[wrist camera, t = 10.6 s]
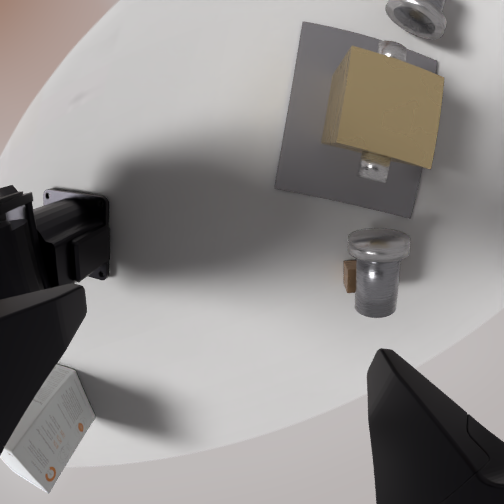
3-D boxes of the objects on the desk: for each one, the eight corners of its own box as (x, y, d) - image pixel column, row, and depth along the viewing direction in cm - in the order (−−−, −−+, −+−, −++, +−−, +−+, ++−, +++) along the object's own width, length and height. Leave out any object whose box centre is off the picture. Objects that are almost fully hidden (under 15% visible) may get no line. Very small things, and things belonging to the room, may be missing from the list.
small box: (37, 355, 28) (-27, 425, 15) (76, 369, 27) (11, 453, 15) (59, 403, 30) (10, 470, 18) (97, 417, 30) (50, 495, 17)
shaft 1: (340, 225, 19) (354, 249, 15) (393, 223, 18) (420, 245, 14) (340, 288, 20) (352, 324, 16) (390, 284, 20) (411, 318, 16)
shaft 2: (422, 49, 14) (453, 29, 10) (374, 20, 14) (395, -8, 10) (438, 7, 13) (467, -16, 8) (393, -20, 13) (414, -50, 8)
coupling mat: (274, 187, 19) (274, 188, 18) (302, 23, 15) (302, 21, 15) (408, 217, 18) (410, 218, 18) (435, 61, 14) (436, 60, 14)
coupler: (317, 162, 18) (330, 171, 12) (335, 57, 15) (354, 22, 10) (385, 179, 17) (424, 195, 12) (402, 77, 15) (445, 55, 9)
